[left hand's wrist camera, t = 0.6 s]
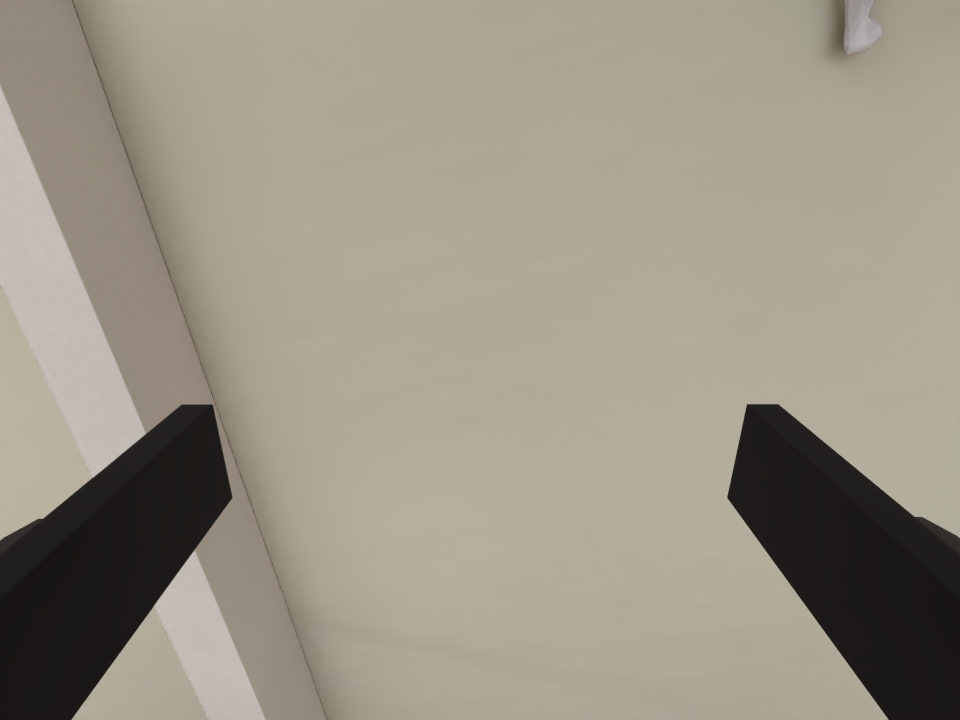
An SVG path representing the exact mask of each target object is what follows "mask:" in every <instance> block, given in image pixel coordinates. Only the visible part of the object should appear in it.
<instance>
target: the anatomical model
mask: <svg viewBox="0 0 960 720" xmlns="http://www.w3.org/2000/svg"><path fill="white" fill-rule="evenodd" d="M874 1H875V0H844V4H845V31H844V41H843V43H844V50H845V52H846V53H847V55H850V54H855V53H860V52H863V51H865V50H866V49H868V48H870V47H871V46H873V45H874V43H875V42H876V41H877V39H878V38H879V37H880V36H881V35H882V33H883V30H882V27H881V25H880V24H879V23H878V22H876V21H875V20H873V19H871V18H870V17H869V16H868V15H869V11H870V9H871V7H872V5H873V3H874Z"/></svg>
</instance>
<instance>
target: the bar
mask: <svg viewBox="0 0 960 720" xmlns="http://www.w3.org/2000/svg"><path fill="white" fill-rule="evenodd" d="M0 285H1V287H2V289H3V291H4V294H5V296H6V298H7V300H8V302H9V304H10V306H11V308H12V310H13V312H14V314H15V317H16V319H17V321H18V323H19V325H20V327H21V329H22V331H23V333H24V335H25V337H26V340H27V342H28V344H29V346H30V348H31V350H32V352H33V354H34V356H35V358H36V360H37V363H38V365H39V367H40V369H41V371H42V373H43V375H44V377H45V379H46V381H47V383H48V386H49V388H50V390H51V392H52V394H53V396H54V398H55V400H56V402H57V404H58V406H59V409H60V411H61V413H62V415H63V417H64V419H65V421H66V423H67V425H68V427H69V429H70V432H71V434H72V436H73V438H74V440H75V442H76V444H77V446H78V448H79V450H80V452H81V455H82V457H83V459H84V461H85V463H86V465H87V467H88V469H89V471H90V473H91V475H92V478H93V477H94V476H96V475H97V474H98V473H99V472H101V471H102V470H103V469H104V468H105V467H107V466H108V465H109V464H110V463H111V462H113V461H114V460H115V459H116V458H117V457H119V456H120V455H121V454H122V453H123V452H125V451H126V450H127V449H128V448H130V447H131V446H132V445H133V444H134V443H136V442H137V441H138V440H139V439H140V438H142V437H143V436H144V435H145V434H146V433H148V432H149V431H150V430H151V429H153V428H154V427H155V426H156V425H157V424H159V423H160V422H161V421H162V420H163V419H165V418H166V417H167V416H168V415H169V414H171V413H172V412H173V411H174V410H176V409H177V408H178V407H179V406H180V405H182V404H213V407H214V412H215V417H216V421H217V426H218V431H219V436H220V440H221V445H222V450H223V454H224V459H225V464H226V469H227V473H228V478H229V483H230V487H231V492H232V497H233V498H232V499H231V501H230V502H229V504H228V505H227V506H226V508H225V509H224V510H223V512H222V513H221V515H220V516H219V517H218V519H217V520H216V521H215V523H214V524H213V526H212V527H211V528H210V530H209V531H208V532H207V534H206V535H205V537H204V538H203V539H202V541H201V542H200V543H199V545H198V546H197V548H196V549H195V550H194V552H193V553H192V554H191V556H190V557H189V559H188V560H187V561H186V563H185V564H184V565H183V567H182V568H181V569H180V571H179V572H178V574H177V575H176V576H175V578H174V579H173V580H172V582H171V583H170V585H169V586H168V587H167V589H166V590H165V591H164V593H163V594H162V596H161V597H160V598H159V600H158V601H157V602H156V604H155V605H154V607H155V609H156V611H157V613H158V616H159V618H160V620H161V622H162V624H163V626H164V628H165V630H166V632H167V634H168V636H169V639H170V641H171V643H172V645H173V647H174V649H175V651H176V653H177V655H178V657H179V659H180V662H181V664H182V666H183V668H184V670H185V672H186V674H187V676H188V678H189V680H190V682H191V685H192V687H193V689H194V691H195V693H196V695H197V697H198V699H199V701H200V703H201V705H202V708H203V710H204V712H205V714H206V716H207V718H208V720H327V718H326V715H325V712H324V710H323V707H322V704H321V701H320V698H319V696H318V693H317V690H316V687H315V684H314V681H313V679H312V676H311V673H310V670H309V667H308V665H307V662H306V659H305V656H304V653H303V650H302V648H301V645H300V642H299V639H298V636H297V634H296V631H295V628H294V625H293V622H292V619H291V617H290V614H289V611H288V608H287V605H286V603H285V600H284V597H283V594H282V591H281V588H280V586H279V583H278V580H277V577H276V574H275V572H274V569H273V566H272V563H271V560H270V557H269V555H268V552H267V549H266V546H265V543H264V541H263V538H262V535H261V532H260V529H259V526H258V524H257V521H256V518H255V515H254V512H253V510H252V507H251V504H250V501H249V498H248V495H247V493H246V490H245V487H244V484H243V481H242V479H241V476H240V473H239V470H238V467H237V464H236V462H235V459H234V456H233V453H232V450H231V448H230V445H229V442H228V439H227V436H226V433H225V431H224V428H223V425H222V422H221V419H220V417H219V414H218V411H217V408H216V405H215V402H214V400H213V397H212V394H211V391H210V388H209V386H208V383H207V380H206V377H205V374H204V371H203V369H202V366H201V363H200V360H199V357H198V355H197V352H196V349H195V346H194V343H193V340H192V338H191V335H190V332H189V329H188V326H187V323H186V321H185V318H184V315H183V312H182V309H181V307H180V304H179V301H178V298H177V295H176V292H175V290H174V287H173V284H172V281H171V278H170V276H169V273H168V270H167V267H166V264H165V261H164V259H163V256H162V253H161V250H160V247H159V245H158V242H157V239H156V236H155V233H154V230H153V228H152V225H151V222H150V219H149V216H148V214H147V211H146V208H145V205H144V202H143V199H142V197H141V194H140V191H139V188H138V185H137V183H136V180H135V177H134V174H133V171H132V168H131V166H130V163H129V160H128V157H127V154H126V152H125V149H124V146H123V143H122V140H121V137H120V135H119V132H118V129H117V126H116V123H115V121H114V118H113V115H112V112H111V109H110V106H109V104H108V101H107V98H106V95H105V92H104V90H103V87H102V84H101V81H100V78H99V75H98V73H97V70H96V67H95V64H94V61H93V59H92V56H91V53H90V50H89V47H88V44H87V42H86V39H85V36H84V33H83V30H82V28H81V25H80V22H79V19H78V16H77V13H76V11H75V8H74V5H73V2H72V0H0Z"/></svg>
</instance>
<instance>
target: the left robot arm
mask: <svg viewBox="0 0 960 720" xmlns="http://www.w3.org/2000/svg"><path fill="white" fill-rule="evenodd" d="M232 498H233V497H232V492H231V487H230V483H229V478H228V473H227V469H226V464H225V459H224V454H223V450H222V445H221V440H220V436H219V431H218V426H217V421H216V417H215V412H214V407H213V404H182V405H180V406H179V407H178V408H177V409H176V410H174V411H173V412H172V413H171V414H169V415H168V416H167V417H166V418H165V419H163V420H162V421H161V422H160V423H159V424H157V425H156V426H155V427H154V428H153V429H151V430H150V431H149V432H148V433H146V434H145V435H144V436H143V437H142V438H140V439H139V440H138V441H137V442H136V443H134V444H133V445H132V446H131V447H130V448H128V449H127V450H126V451H125V452H123V453H122V454H121V455H120V456H119V457H117V458H116V459H115V460H114V461H113V462H111V463H110V464H109V465H108V466H107V467H105V468H104V469H103V470H102V471H101V472H99V473H98V474H97V475H96V476H94V477H93V478H92V479H91V480H90V481H88V482H87V483H86V484H85V485H84V486H82V487H81V488H80V489H79V490H78V491H76V492H75V493H74V494H73V495H71V496H70V497H69V498H68V499H67V500H65V501H64V502H63V503H62V504H61V505H59V506H58V507H57V508H56V509H55V510H53V511H52V512H51V513H50V514H48V515H47V516H46V517H45V518H44V519H37V520H36V521H34V522H32V523H30V524H28V525H26V526H25V527H23V528H21V529H19V530H17V531H15V532H14V533H12V534H10V535H8V536H6V537H4V538H3V539H2V540H1V541H0V720H71V719H72V718H73V717H74V715H75V714H76V712H77V711H78V710H79V708H80V707H81V706H82V704H83V703H84V701H85V700H86V699H87V697H88V696H89V695H90V693H91V692H92V690H93V689H94V688H95V686H96V685H97V684H98V682H99V681H100V679H101V678H102V677H103V675H104V674H105V673H106V671H107V670H108V668H109V667H110V666H111V664H112V663H113V662H114V660H115V659H116V657H117V656H118V655H119V653H120V652H121V651H122V649H123V648H124V646H125V645H126V644H127V642H128V641H129V640H130V638H131V637H132V635H133V634H134V633H135V631H136V630H137V629H138V627H139V626H140V624H141V623H142V622H143V620H144V619H145V618H146V616H147V615H148V613H149V612H150V611H151V609H152V608H153V607H154V605H155V604H156V602H157V601H158V600H159V598H160V597H161V596H162V594H163V593H164V591H165V590H166V589H167V587H168V586H169V585H170V583H171V582H172V580H173V579H174V578H175V576H176V575H177V574H178V572H179V571H180V569H181V568H182V567H183V565H184V564H185V563H186V561H187V560H188V559H189V557H190V556H191V554H192V553H193V552H194V550H195V549H196V548H197V546H198V545H199V543H200V542H201V541H202V539H203V538H204V537H205V535H206V534H207V532H208V531H209V530H210V528H211V527H212V526H213V524H214V523H215V521H216V520H217V519H218V517H219V516H220V515H221V513H222V512H223V510H224V509H225V508H226V506H227V505H228V504H229V502H230V501H231V499H232ZM727 498H728V499H729V501H730V502H731V504H732V505H733V506H734V508H735V509H736V510H737V512H738V513H739V515H740V516H741V517H742V519H743V520H744V521H745V523H746V524H747V526H748V527H749V528H750V530H751V531H752V532H753V534H754V535H755V537H756V538H757V539H758V541H759V542H760V543H761V545H762V546H763V548H764V549H765V550H766V552H767V553H768V554H769V556H770V557H771V559H772V560H773V561H774V563H775V564H776V565H777V567H778V568H779V570H780V571H781V572H782V574H783V575H784V576H785V578H786V579H787V580H788V582H789V583H790V585H791V586H792V587H793V589H794V590H795V591H796V593H797V594H798V596H799V597H800V598H801V600H802V601H803V602H804V604H805V605H806V607H807V608H808V609H809V611H810V612H811V613H812V615H813V616H814V618H815V619H816V620H817V622H818V623H819V624H820V626H821V627H822V629H823V630H824V631H825V633H826V634H827V635H828V637H829V638H830V640H831V641H832V642H833V644H834V645H835V646H836V648H837V649H838V651H839V652H840V653H841V655H842V656H843V657H844V659H845V660H846V662H847V663H848V664H849V666H850V667H851V668H852V670H853V671H854V673H855V674H856V675H857V677H858V678H859V679H860V681H861V682H862V684H863V685H864V686H865V688H866V689H867V690H868V692H869V693H870V695H871V696H872V697H873V699H874V700H875V701H876V703H877V704H878V706H879V707H880V708H881V710H882V711H883V712H884V714H885V715H886V717H887V718H888V719H889V720H960V538H959V537H957V536H956V535H954V534H952V533H951V532H949V531H947V530H945V529H943V528H941V527H939V526H938V525H936V524H934V523H932V522H930V521H928V520H927V519H925V518H923V517H914V516H913V515H912V514H910V513H909V512H908V511H907V510H905V509H904V508H903V507H902V506H901V505H899V504H898V503H897V502H896V501H895V500H893V499H892V498H891V497H890V496H889V495H887V494H886V493H885V492H884V491H882V490H881V489H880V488H879V487H878V486H876V485H875V484H874V483H873V482H872V481H870V480H869V479H868V478H867V477H866V476H864V475H863V474H862V473H861V472H859V471H858V470H857V469H856V468H855V467H853V466H852V465H851V464H850V463H849V462H847V461H846V460H845V459H844V458H843V457H841V456H840V455H839V454H838V453H836V452H835V451H834V450H833V449H832V448H830V447H829V446H828V445H827V444H826V443H824V442H823V441H822V440H821V439H820V438H818V437H817V436H816V435H815V434H814V433H812V432H811V431H810V430H809V429H807V428H806V427H805V426H804V425H803V424H801V423H800V422H799V421H798V420H797V419H795V418H794V417H793V416H792V415H791V414H789V413H788V412H787V411H786V410H784V409H783V408H782V407H781V406H780V405H778V404H747V407H746V412H745V417H744V421H743V426H742V431H741V436H740V440H739V445H738V450H737V454H736V459H735V464H734V469H733V473H732V478H731V483H730V487H729V492H728V497H727Z"/></svg>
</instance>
